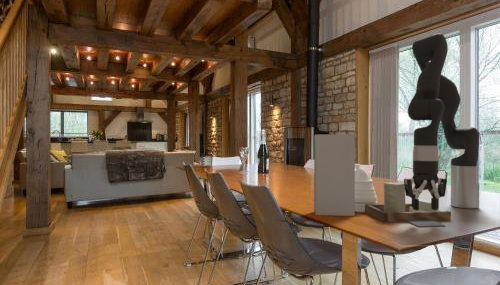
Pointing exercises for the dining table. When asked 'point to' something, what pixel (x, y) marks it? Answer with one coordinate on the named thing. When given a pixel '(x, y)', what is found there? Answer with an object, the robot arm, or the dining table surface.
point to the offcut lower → (417, 210)
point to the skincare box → (394, 197)
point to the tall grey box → (334, 175)
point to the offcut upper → (425, 205)
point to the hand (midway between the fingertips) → (425, 209)
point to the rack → (405, 214)
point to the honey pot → (363, 189)
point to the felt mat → (425, 223)
